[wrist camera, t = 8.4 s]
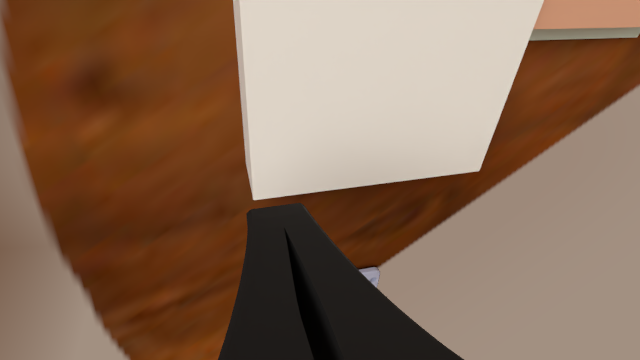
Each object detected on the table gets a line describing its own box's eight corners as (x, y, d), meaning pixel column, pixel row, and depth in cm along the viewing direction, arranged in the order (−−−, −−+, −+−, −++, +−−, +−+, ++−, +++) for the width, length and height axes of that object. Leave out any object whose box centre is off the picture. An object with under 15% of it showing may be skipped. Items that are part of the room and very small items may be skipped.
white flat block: (449, 142, 22) (479, 170, 20) (246, 163, 19) (253, 200, 17) (547, -183, 14) (620, -201, 11) (214, -236, 11) (219, -275, 8)
